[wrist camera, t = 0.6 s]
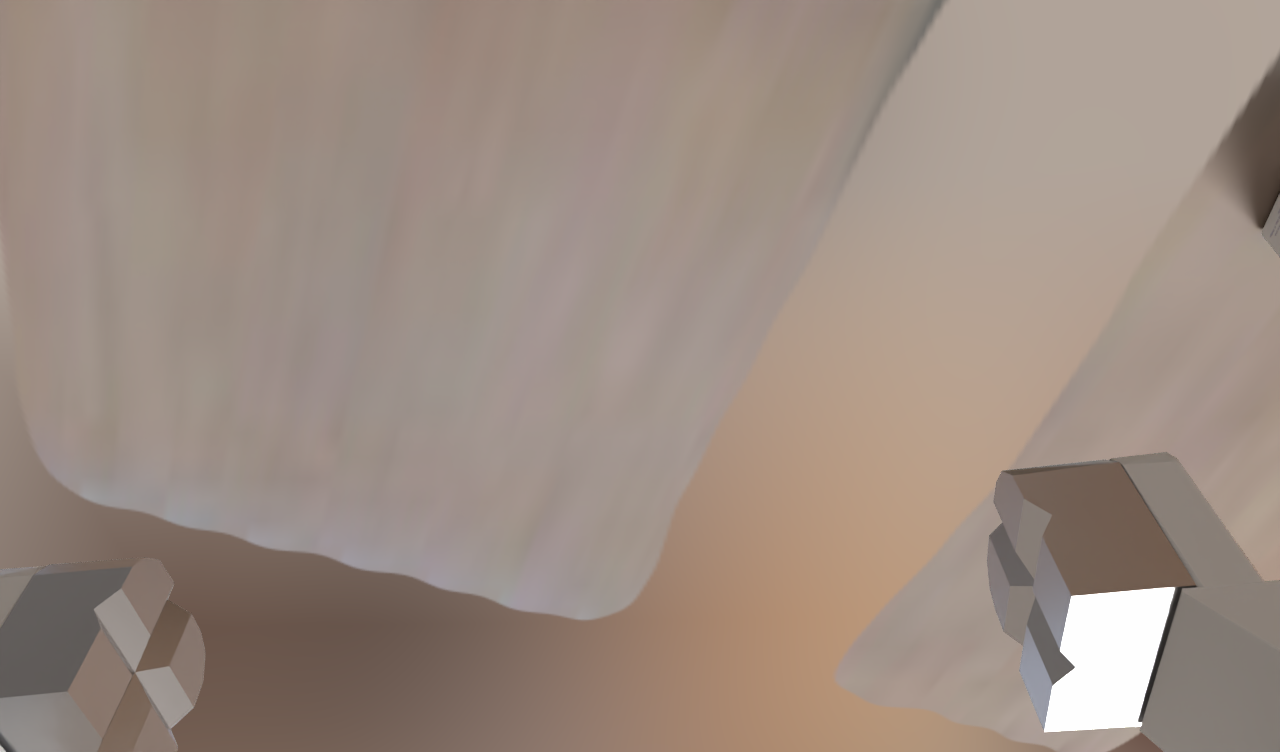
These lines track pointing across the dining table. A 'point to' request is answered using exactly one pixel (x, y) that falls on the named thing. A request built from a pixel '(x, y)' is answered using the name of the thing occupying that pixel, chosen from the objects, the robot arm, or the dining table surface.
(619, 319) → the dining table surface
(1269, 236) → the medicine box
